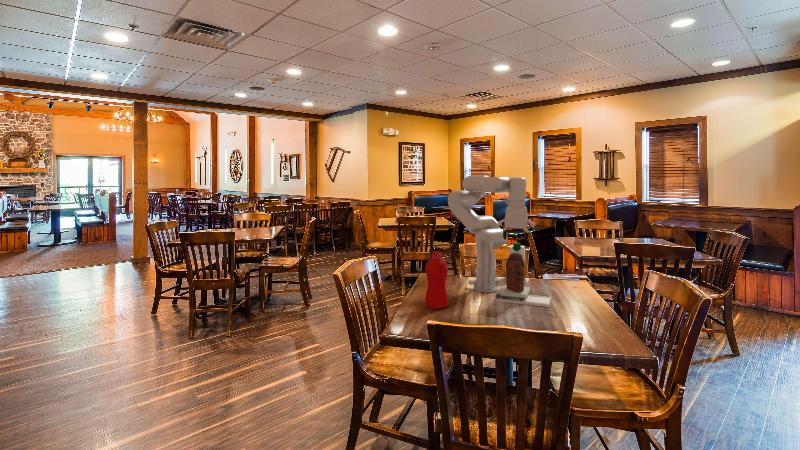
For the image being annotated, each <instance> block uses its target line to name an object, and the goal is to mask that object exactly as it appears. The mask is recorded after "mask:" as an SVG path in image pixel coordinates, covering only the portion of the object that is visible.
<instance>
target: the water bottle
mask: <svg viewBox="0 0 800 450" xmlns="http://www.w3.org/2000/svg"><path fill="white" fill-rule="evenodd" d="M442 254H443V253H442V252H440V251H434V252H431V258H430V259H429V260H427V262H426V264H425V267H424V268H425V269H424V270H425V275H426V279H427V288H426V292H425V299H424V301H425V302H424V303H425V306H426V307H428V308H431V310H439V309H446V308H447V307H448V306H449V295H448V292H447V287H446V285H447V284H446V283H447V276H448V273H449V267H448V263H447V261H445V260H444V259H443V258H442Z"/></svg>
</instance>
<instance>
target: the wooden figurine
mask: <svg viewBox="0 0 800 450" xmlns="http://www.w3.org/2000/svg"><path fill="white" fill-rule="evenodd" d="M523 264H524V260H523V256H522V254H520V253H518V252H514V253H511V254H510V255H509V254H508V258H507V259H506V265H505V266H506V267H505V269H506V270H505V271H506V272H505V279H506V284H505V285H506V287H507V288H508V289H511V290H513V291H515V292H523V291H524V287H525V268H522V266H523Z"/></svg>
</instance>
